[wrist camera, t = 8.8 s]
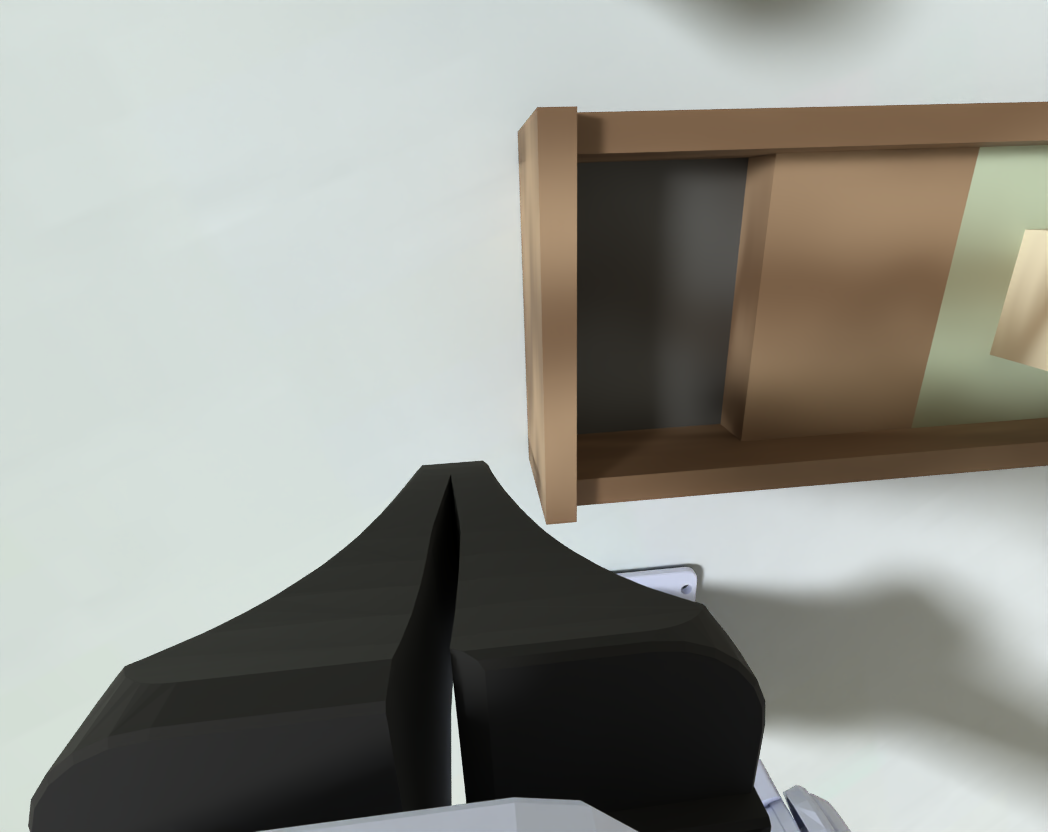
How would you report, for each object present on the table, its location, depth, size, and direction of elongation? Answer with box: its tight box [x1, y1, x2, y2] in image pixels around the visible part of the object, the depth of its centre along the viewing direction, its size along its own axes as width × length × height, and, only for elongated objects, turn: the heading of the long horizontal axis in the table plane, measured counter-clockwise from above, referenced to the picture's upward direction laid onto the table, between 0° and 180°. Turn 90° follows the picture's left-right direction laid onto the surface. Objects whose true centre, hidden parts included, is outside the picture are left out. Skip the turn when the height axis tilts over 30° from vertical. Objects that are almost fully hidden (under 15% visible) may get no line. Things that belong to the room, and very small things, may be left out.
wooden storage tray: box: [518, 102, 1048, 525], centre depth 19 cm, size 12×23×5 cm, turn 92°
